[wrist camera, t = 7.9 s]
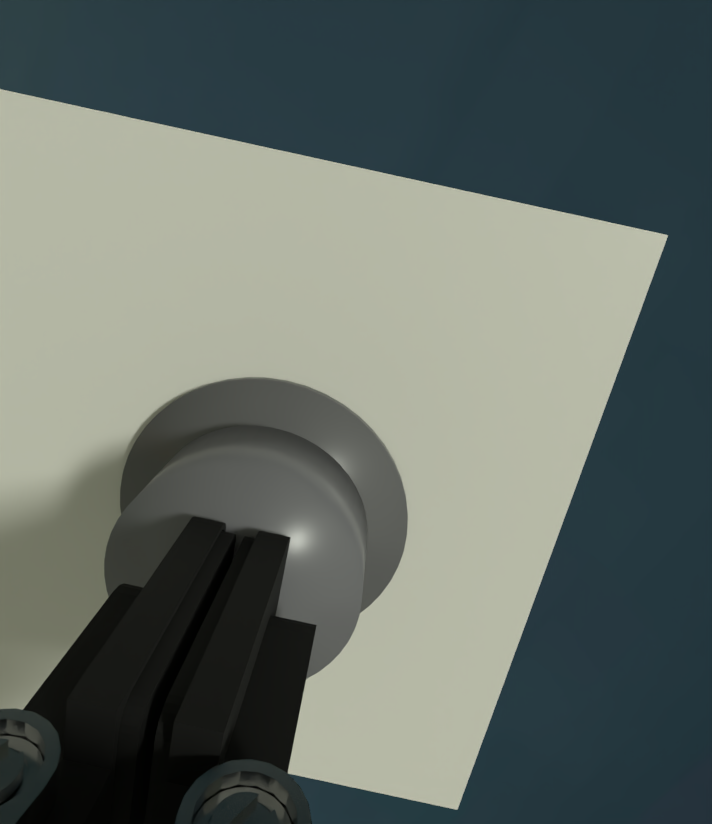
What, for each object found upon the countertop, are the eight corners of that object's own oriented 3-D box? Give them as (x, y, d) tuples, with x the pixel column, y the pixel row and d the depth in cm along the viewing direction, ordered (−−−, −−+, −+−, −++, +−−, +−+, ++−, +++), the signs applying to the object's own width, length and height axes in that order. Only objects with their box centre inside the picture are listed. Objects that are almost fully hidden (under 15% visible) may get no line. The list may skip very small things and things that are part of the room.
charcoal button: (161, 403, 11) (112, 442, 9) (389, 452, 11) (387, 502, 9) (142, 594, 12) (96, 663, 11) (343, 638, 12) (335, 714, 11)
